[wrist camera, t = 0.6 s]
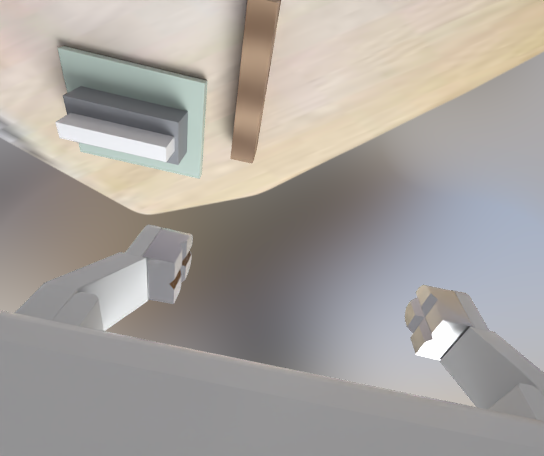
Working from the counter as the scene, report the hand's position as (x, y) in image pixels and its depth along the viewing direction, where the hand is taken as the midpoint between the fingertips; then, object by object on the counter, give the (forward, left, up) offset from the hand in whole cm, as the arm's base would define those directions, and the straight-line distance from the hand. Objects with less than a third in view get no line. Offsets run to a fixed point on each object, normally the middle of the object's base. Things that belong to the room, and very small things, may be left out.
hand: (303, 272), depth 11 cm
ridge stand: (+13, -21, -34) cm, 42 cm away
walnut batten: (+5, -6, -34) cm, 35 cm away
